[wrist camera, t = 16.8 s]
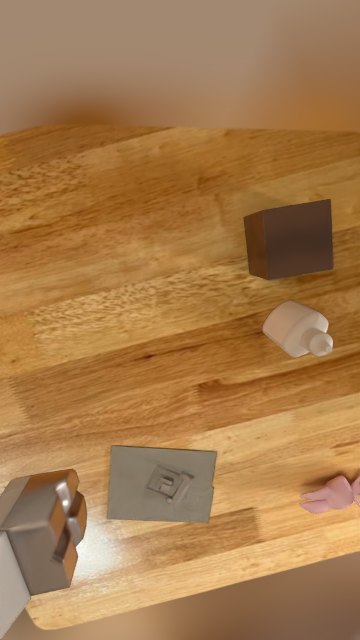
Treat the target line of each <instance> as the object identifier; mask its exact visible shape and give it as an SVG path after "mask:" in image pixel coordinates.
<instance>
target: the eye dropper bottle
mask: <svg viewBox="0 0 360 640" xmlns="http://www.w3.org/2000/svg"><path fill="white" fill-rule="evenodd" d="M327 329H328V320H327V319H326V318H325V317H324V316H323V315H322V314H320V313H319V312H317V311H315V310H313V309H311V308H308V307H306V306H304V305H301V304H299V303H297V302H294V301H292V300H289V301H286V302H284V303H282V304H280V305H279V306H278V307H276V308H275V309H274V310H273V311H272V312H271V313H270V314H269V316H268V317H267V319H266V321H265V323H264V325H263V328H262V331H263V333H264V334H265V335H266V336H267V337H269V338H270V339H271V340H272V341H273V342H274V343H276V344H277V345H278V346H279V347H280V348H282V349H283V350H284V351H285V352H286V353H288V354H289V355H290V356H292V357H299V356H302V355H304V354H306V353H308V352H311V353H312V354H314V355H316V356H323V355H326V354H327V353H330V352H332V350H333V348H332V346H333V340H332V338H331V336H330V335H328V334H327V333H326V332H327Z"/></svg>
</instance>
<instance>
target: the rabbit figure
mask: <svg viewBox="0 0 360 640" xmlns="http://www.w3.org/2000/svg"><path fill="white" fill-rule="evenodd" d="M358 495H360V475H359V476H358V477H357V479H356V480H355V481H354V482H353V483H352V484H351V485H349V483H348V481H347V480H346V478H345V477H343V476H338V477H336V478H334V479H332V480H330V481H328V482H327V483H326V485H325V487H323V488H321V489H320V490H317V491H314V492H311V493H306V494H302V495H300V497H301V498H306V499H310V500H315V501H311V502H305V503H299V505H300V506H301V507H302V508H304V509H305V510H307V511H309V512H311V513H323V512H326V511H328V510H329V509H338V510H340V509H345V508H348V507H349V506H351V504H352V503H353V500H354V501H355V503H356V504H358V505H359V506H360V502H359V501H358V498H357V497H358Z"/></svg>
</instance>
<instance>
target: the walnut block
mask: <svg viewBox="0 0 360 640" xmlns="http://www.w3.org/2000/svg"><path fill="white" fill-rule="evenodd" d="M244 225H245V235H246V244H247V254H248V263H249V272H250V274H251V275H254V276H258V277H261V278H264V279H267V280H272V279H278V278H283V277H289V276H295V275H301V274H307V273H312V272H318V271H324V270H330V269H333V246H332V219H331V199H327V200H321V201H315V202H309V203H303V204H297V205H291V206H285V207H279V208H273V209H267V210H262V211H259V212H257V213H254V214H251V215H248V216H245V217H244Z"/></svg>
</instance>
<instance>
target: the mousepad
mask: <svg viewBox="0 0 360 640" xmlns="http://www.w3.org/2000/svg"><path fill="white" fill-rule="evenodd" d="M285 432H286V431H285ZM216 455H217V452H208V451H191V450H173V449H156V448H139V447H121V446H112V449H111V464H110V480H109V496H108V511H107V519H117V520H143V521H169V522H195V523H209V516H210V510H211V504H212V498H213V490H214V487H212V481H213V474H214V468H215V462H216Z"/></svg>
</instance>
